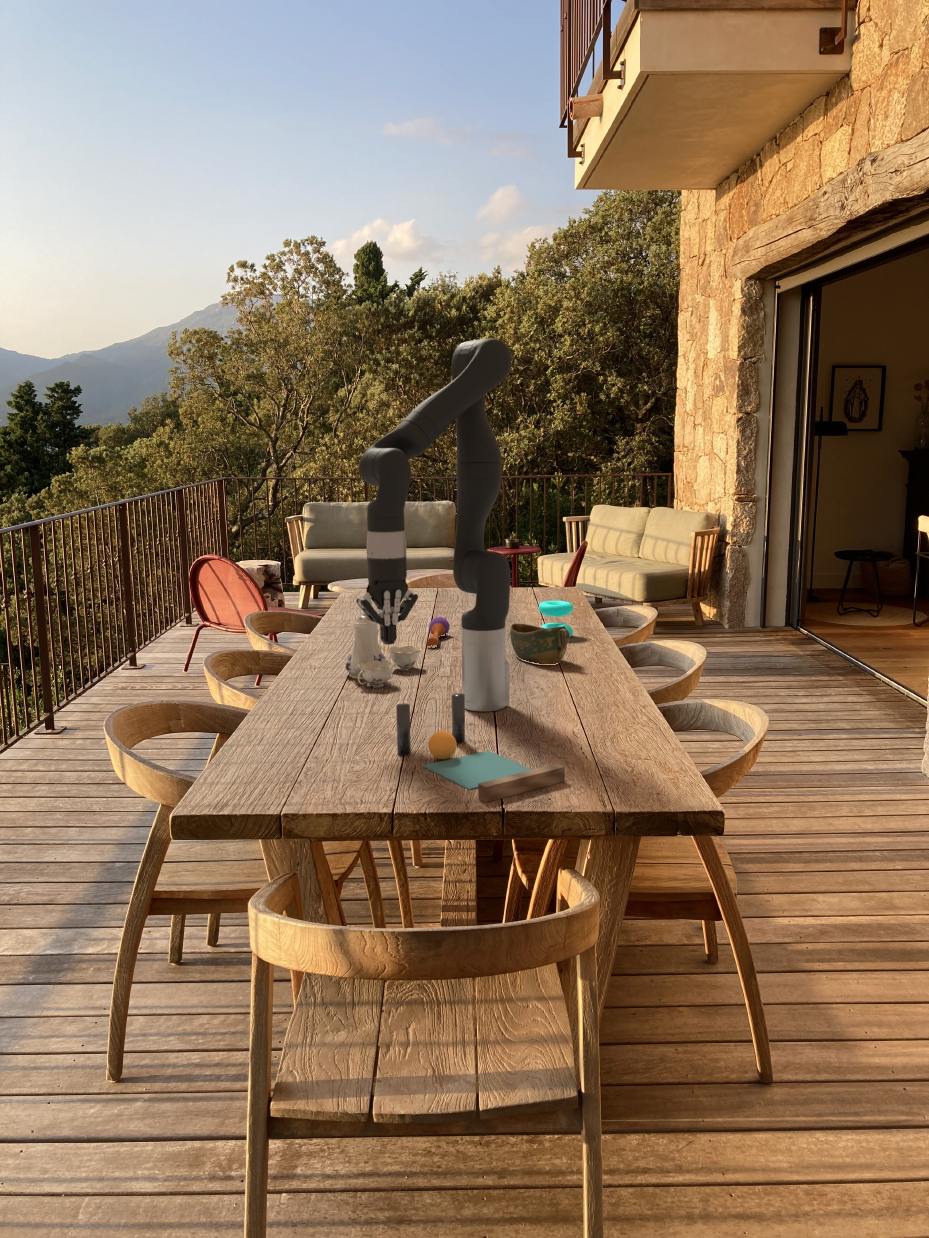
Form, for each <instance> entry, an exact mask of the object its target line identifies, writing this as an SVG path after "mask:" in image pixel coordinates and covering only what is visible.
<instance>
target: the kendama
mask: <svg viewBox="0 0 929 1238" xmlns="http://www.w3.org/2000/svg"><path fill="white" fill-rule="evenodd" d="M428 627H429V632H430V634H431V633H432V634H433V635H432V634H431V635H430V637H429V638H428V639H427V640H426V646H431V645H432V646H433V645H438V646H439V638H440V637H439V636H441V635H444V634H446V633H449V631H450V623H449V620H447V619H446V618H445V617H442V616H437V617H434V618H433V619H432V620H431V621H430V623H429V625H428Z"/></svg>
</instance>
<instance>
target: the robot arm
mask: <svg viewBox="0 0 929 1238" xmlns="http://www.w3.org/2000/svg"><path fill="white" fill-rule="evenodd" d="M451 359H452V360H451V377H452V378H451V379H452V380H451V381H450V382H449V383H448V384H446V385H445V386H444V387H443V388H441V389H440V390H438V391H437V392H435V393H433V394H432V395H431V396H429V397H427V398H426V399H424V400H423V401H422V402H420V403H419V404H418V405H417V406H416V407H414V409H413V410H411V411H410V412H409V413H408V415H407V416H406V417H404V419H403V420H402V421H401V422H400V423H399V424H398V425H397V427H396V428H395V429H393V430H391V431H390V432H388V433H387V434H385V435H384V436H382V437H381V438H379V439H378V440H377V441H376V442H374V443H373V444H372V445H370V446H369V447H368V448H367V449H366V450H365V452H364V453H363V454H362V456H361V457H360V460H359V464H358V473H359V476H360V478H361V479H362V480H363V481H364V482H365V483H366V484H367V485H371V486H377V487H378V489H377V495H376V498H375V499H373V500H371V501H369V502H368V504H367V509H366V520H367V521H366V523H367V527H366V528H367V536H366V551H365V552H366V567H367V568H366V570H367V572H366V574H367V581H368V582H367V583H368V584H367V586H366V591H365V594H364V595H363V596H362V597H358V598H357V599H356V604H357V605H358V606H359V608H360V609H361V610H362V612H363V611H364V613H365V614H366V615H367V616H368V618H369V619H370V620H371V621H372V622H375V623H378V625H379V635H380V636H379V637H380V641H381V642H382V644H383V645H385V646H386V645H388V646H389V645H395V644H396V640H397V639H398V637H397V636H398V635H397V625H398V623H400V622H404V621H405V620H406V619H407V618H408V615H409V614H410V612H411V611H412V609H413V608H414V606H415V605H416V602H417V601H418V600H419V595H418V593H417V594H416V593H414V592H412V591H411V590H410V589H409V585H408V583H407V577H408V572H407V571H408V569H407V566H408V565H407V540H406V531H405V506H406V503H407V500H408V499H407V498H408V493H409V489H410V484H411V477H412V476H411V475H412V468H411V462H410V460H411V459H412V458H417V457H419V456H421V455H422V454H424V453H426V451H427V450H428V449H429V448H430V447H431V446H432V444H434V442H435V441H436V440H437V439H438V438H439V437H440V436H441V435H442V434H443V433H444V431H446V430H447V429H448V427H450V426H451V425H452V424H453V422H454V421H455V427H456V428H455V429H456V430H455V433H456V434H455V435H456V436H455V437H456V471H455V472H456V527H455V529H456V530H455V538H454V539H455V540H454V550H453V560H452V562H453V564H452V573H453V575H452V576H453V579H454V580H453V581H454V583H455V585H456V586H457V588H458V589H459V590H460V591H461V592H464V593H468V594H473V595H475V605H474V607H473V608H472V609H470V610H466V611H465V612H463V613H462V614H461V624H460V625H461V694H464V695H465V710H468V711H472V712H493V711H495V712H496V711H499V710H502V709H504V708H505V707H509V706H510V662H509V661H508V660H506V620H507V617H508V615H509V614H508V613H509V610H510V599H511V598H510V597H511V596H510V594H511V568H510V567H511V566H510V564H509V561H508V558H507V557H506V556H505V555H504V554H503V553H501V552H499V551H493V550H485V541H484V540H485V527H486V523H487V519H488V517H489V515H490V513H491V511H492V509H493V507H494V505H495V503H496V501H497V498H498V496H499V494H500V491H501V487H502V452H501V449H500V446H499V442H498V441H497V438H496V435H495V434H494V431H493V429H492V427H491V424H490V422H489V420H488V416H487V412H486V401H485V400H486V397H485V395H486V394H487V393H489V392H490V391H492V390H493V389H494V388H496V387H497V386H498V385H500V384H501V383H503V382H504V380H506V378H507V377H508V376H509V373H510V372H511V368H512V364H513V363H512V361H513V360H512V355H511V351H510V349H509V347H508V346H507V344H506V343H505V342H503V341H502V340H500V339H497V338H491V337H490V338H480V339H475V340H474V339H473V340H468V341H464V342H462V343H459V345H458V346H456V347H455V349H454V351H453V354H452V358H451ZM373 604H374V605H375V608H374V607H373V606H372V605H373ZM375 609H376V610H375Z"/></svg>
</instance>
